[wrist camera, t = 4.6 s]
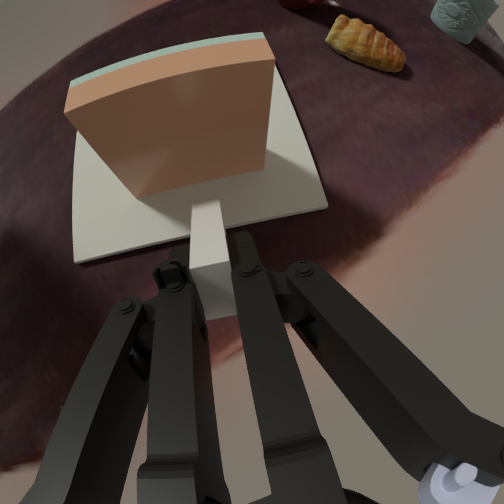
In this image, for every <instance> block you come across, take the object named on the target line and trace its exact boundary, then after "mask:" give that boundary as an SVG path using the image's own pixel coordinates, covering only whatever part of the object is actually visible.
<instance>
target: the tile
mask: <svg viewBox="0 0 504 504" xmlns="http://www.w3.org/2000/svg"><path fill="white" fill-rule="evenodd" d="M274 67H275V57H274V55H273V53H272V51H271V49H270V47H269V45H268V43H267V40H266V38H265V36H264V34H263V32H258V33H248V34H239V35H231V36H224V37H218V38H212V39H206V40H201V41H195V42H190V43H186V44H181V45H177V46H173V47H169V48H165V49H161V50H157V51H153V52H150V53H146V54H143V55H139V56H136V57H133V58H130V59H127V60H124V61H121V62H118V63H115V64H112V65H109V66H107V67H104V68H101V69H99V70H96V71H94V72H91V73H89V74H86V75H84V76H82V77H79V78H77V79H75V80H72V81H71V83H70V87H69V91H68V95H67V100H66V105H65V110H64V114H65V115H66V117H67V118H68V119H69V120H70V122H71V123H72V124H73V125H74V127H75V128H76V129H77V130H78V132H79V133H80V134H81V135H82V136H83V138H84V139H85V140H86V141H87V142H88V144H89V145H90V146H91V147H92V148H93V150H94V151H95V152H96V153H97V154H98V156H99V157H100V158H101V159H102V160H103V161H104V163H105V164H106V165H107V166H108V167H109V168H110V170H111V171H112V172H113V173H114V174H115V175H116V177H117V178H118V179H119V180H120V181H121V182H122V183H123V185H124V186H125V187H126V188H127V189H128V190H129V191H130V192H131V194H132V195H133V196H134V197H135V198H140V197H144V196H148V195H151V194H155V193H159V192H163V191H167V190H171V189H175V188H179V187H183V186H188V185H192V184H196V183H201V182H205V181H210V180H214V179H219V178H224V177H229V176H234V175H239V174H244V173H249V172H254V171H260V170H264V164H265V154H266V145H267V135H268V126H269V116H270V106H271V97H272V87H273V77H274Z"/></svg>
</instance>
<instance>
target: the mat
mask: <svg viewBox="0 0 504 504" xmlns="http://www.w3.org/2000/svg"><path fill="white" fill-rule="evenodd" d="M217 196H219V201H220V206H221V211H222V215H223V220H224V225H225V229H228V228H233V227H237V226H242V225H247V224H252V223H256V222H261V221H266V220H271V219H276V218H281V217H286V216H291V215H296V214H301V213H306V212H311V211H316V210H322V209H326V208H327V207H328V203H327V200H326V197H325V194H324V191H323V188H322V184H321V182H320V179H319V176H318V173H317V170H316V167H315V164H314V161H313V158H312V156H311V153H310V150H309V147H308V145H307V142H306V139H305V136H304V134H303V131H302V129H301V126H300V123H299V121H298V118H297V116H296V113H295V111H294V108H293V106H292V103H291V101H290V98H289V96H288V94H287V91H286V89H285V87H284V84H283V82H282V80H281V77H280V75H279V73H278V70H277V68H276V66H275V67H274V77H273V87H272V97H271V106H270V116H269V126H268V135H267V145H266V154H265V164H264V170H260V171H254V172H249V173H244V174H239V175H234V176H229V177H224V178H219V179H214V180H210V181H205V182H201V183H196V184H192V185H188V186H183V187H179V188H175V189H171V190H167V191H163V192H159V193H155V194H151V195H148V196H144V197H140V198H135V197H134V196H133V195H132V194H131V192H130V191H129V190H128V189H127V188H126V187H125V186H124V185H123V183H122V182H121V181H120V180H119V179H118V178H117V177H116V175H115V174H114V173H113V172H112V171H111V170H110V168H109V167H108V166H107V165H106V164H105V163H104V161H103V160H102V159H101V158H100V157H99V156H98V154H97V153H96V152H95V151H94V150H93V148H92V147H91V146H90V145H89V144H88V142H87V141H86V140H85V139H84V138H83V136H82V135H81V134H80V133H79V132H78V130H77V137H76V147H75V158H74V173H73V201H72V222H73V250H74V262H75V263H77V264H79V263H83V262H87V261H91V260H95V259H99V258H103V257H107V256H111V255H115V254H119V253H123V252H127V251H131V250H135V249H140V248H144V247H148V246H152V245H157V244H161V243H165V242H170V241H174V240H178V239H183V238H187V237H191V217H192V202H194V201H198V200H203V199H208V198H212V197H217Z"/></svg>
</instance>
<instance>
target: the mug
mask: <svg viewBox="0 0 504 504" xmlns="http://www.w3.org/2000/svg"><path fill="white" fill-rule="evenodd" d="M324 1H325V0H277V2H278V3H279V4H280V5H281V6H283V7H285V8H289V9H295V10H299V9H305V8H306V7H308V6H309V5H310V4H315V5H317V4H321V3H323V2H324Z"/></svg>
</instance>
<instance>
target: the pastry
mask: <svg viewBox="0 0 504 504" xmlns="http://www.w3.org/2000/svg"><path fill="white" fill-rule="evenodd" d="M325 40H326V42H327V43H328V45H329V46H331V48H332V49H333V50H334V51H335V52H337V53H338V54H340V55H341V54H342V55H345V56H347V57H348V58H349V59H351V60H353V61H356V62H358V63H362V64H364V65H367V66H370V67H373V68H376V69H379V70H382V71H386V72H394V73H396V72H399V71H401V70H402V68H403V66H404V63H405V61H406V57H405V55H404V54H403V52H402V51H401V49H400V48H399V47H397V46H396V45H395V43H394V42H393V41H392V40H390V39H388V38H387V37H386V36H385V34H384V33H381V32H379V31H377V30H376V29H375V28H374V26H373V25H371V24H364V23H363V22H362V21H361V20H360V19H358V18H355V19H349V18H348V17H347V16H345V15H340V16H339V17H338V18H337V19H336V20H335V23H334V24H333V26H332V28H331V30H330V32H329V34H328V36H327V38H326V39H325Z"/></svg>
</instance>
